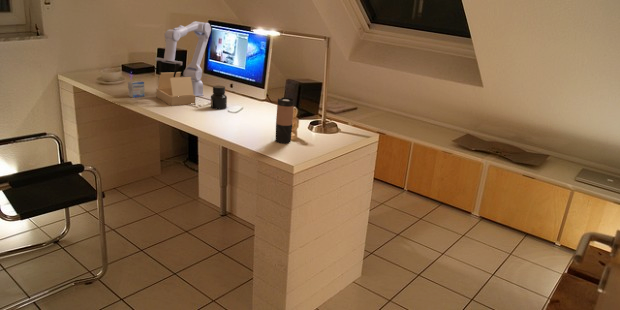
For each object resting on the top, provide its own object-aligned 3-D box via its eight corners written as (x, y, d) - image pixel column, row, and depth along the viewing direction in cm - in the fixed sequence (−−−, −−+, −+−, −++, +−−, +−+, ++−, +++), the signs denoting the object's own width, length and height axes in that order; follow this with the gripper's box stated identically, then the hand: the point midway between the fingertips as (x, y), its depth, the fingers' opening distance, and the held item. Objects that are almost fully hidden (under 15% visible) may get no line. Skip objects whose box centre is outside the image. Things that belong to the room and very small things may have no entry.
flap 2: (193, 94, 273) (193, 94, 272) (172, 96, 266) (172, 96, 265) (190, 76, 272) (190, 76, 272) (169, 77, 265) (170, 77, 264)
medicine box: (132, 98, 276) (132, 83, 273) (128, 96, 278) (127, 81, 275) (144, 96, 282) (144, 81, 279) (140, 94, 284) (139, 80, 281)
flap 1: (158, 88, 280) (158, 88, 281) (178, 87, 288) (178, 86, 288) (160, 73, 275) (160, 72, 275) (180, 72, 282) (180, 71, 282)
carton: (179, 95, 291) (179, 87, 289) (195, 104, 275) (195, 95, 273) (156, 97, 282) (156, 88, 280) (171, 106, 266) (171, 97, 264)
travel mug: (291, 144, 222) (294, 101, 215) (274, 143, 221) (277, 100, 215) (290, 139, 229) (294, 97, 223) (274, 138, 229) (277, 96, 222)
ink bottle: (216, 104, 278) (216, 84, 274) (229, 107, 275) (230, 86, 271) (207, 108, 269) (207, 86, 265) (221, 110, 266) (221, 89, 262)
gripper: (156, 49, 263) (153, 74, 265) (183, 54, 268) (180, 78, 270) (156, 49, 270) (153, 73, 272) (183, 54, 274) (180, 77, 276)
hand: (167, 75), depth 271 cm, fingers open, 7 cm apart
